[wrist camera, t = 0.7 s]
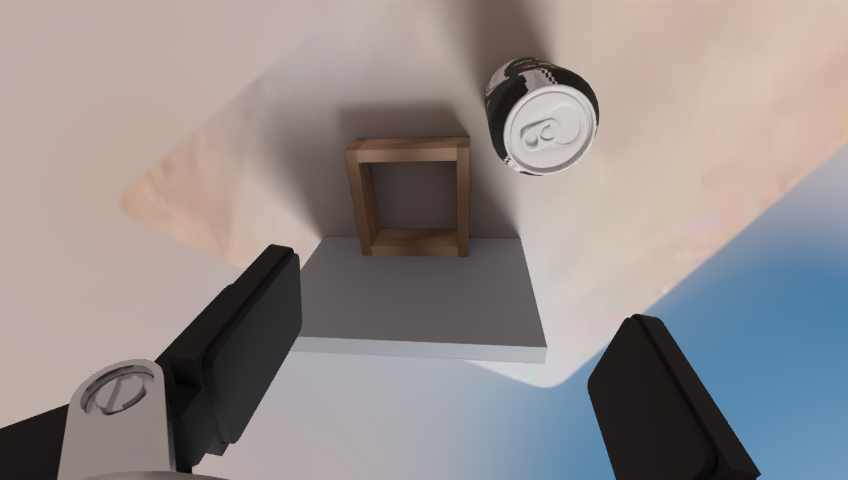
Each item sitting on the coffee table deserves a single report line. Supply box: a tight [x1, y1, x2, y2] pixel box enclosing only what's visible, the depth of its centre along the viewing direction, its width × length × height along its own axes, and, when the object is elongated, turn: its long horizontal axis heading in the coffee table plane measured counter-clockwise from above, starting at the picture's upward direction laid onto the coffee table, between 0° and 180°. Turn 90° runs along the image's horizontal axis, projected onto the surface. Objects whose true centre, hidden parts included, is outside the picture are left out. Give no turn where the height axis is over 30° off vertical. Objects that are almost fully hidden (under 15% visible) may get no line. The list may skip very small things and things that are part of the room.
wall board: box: [290, 237, 547, 364], centre depth 30 cm, size 20×2×14 cm, turn 93°
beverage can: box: [485, 57, 599, 176], centre depth 23 cm, size 6×6×12 cm
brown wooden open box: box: [344, 136, 470, 257], centre depth 32 cm, size 10×10×4 cm
